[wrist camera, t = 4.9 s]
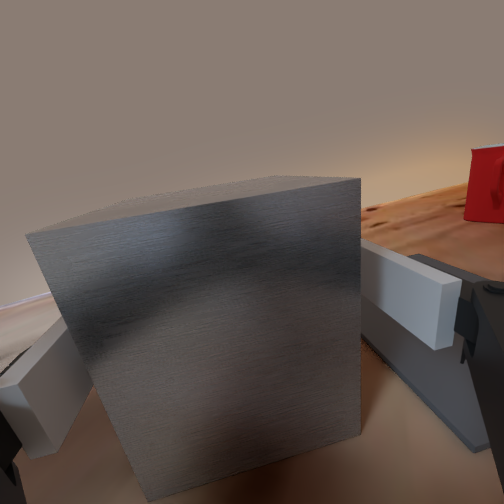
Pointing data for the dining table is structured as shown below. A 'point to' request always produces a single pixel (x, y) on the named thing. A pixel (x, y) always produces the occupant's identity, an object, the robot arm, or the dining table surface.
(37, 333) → the dining table surface
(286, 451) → the steel cover
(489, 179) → the mug
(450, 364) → the charcoal mat
